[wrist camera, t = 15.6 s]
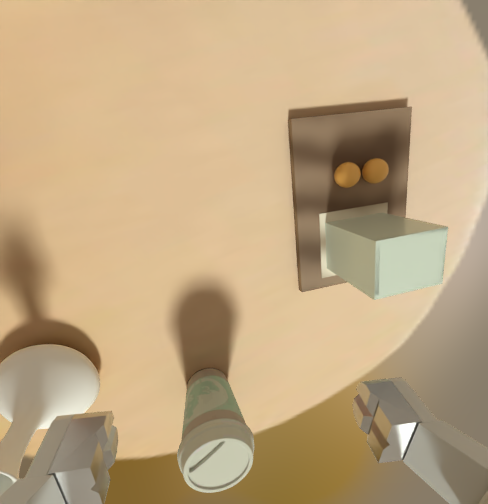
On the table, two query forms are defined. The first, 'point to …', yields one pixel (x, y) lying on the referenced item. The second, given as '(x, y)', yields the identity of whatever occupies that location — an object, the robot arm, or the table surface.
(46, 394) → the flower in vase
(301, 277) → the walnut board
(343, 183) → the amber marble
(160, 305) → the table surface
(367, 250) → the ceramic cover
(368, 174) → the amber marble
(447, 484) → the robot arm
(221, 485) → the coffee cup
